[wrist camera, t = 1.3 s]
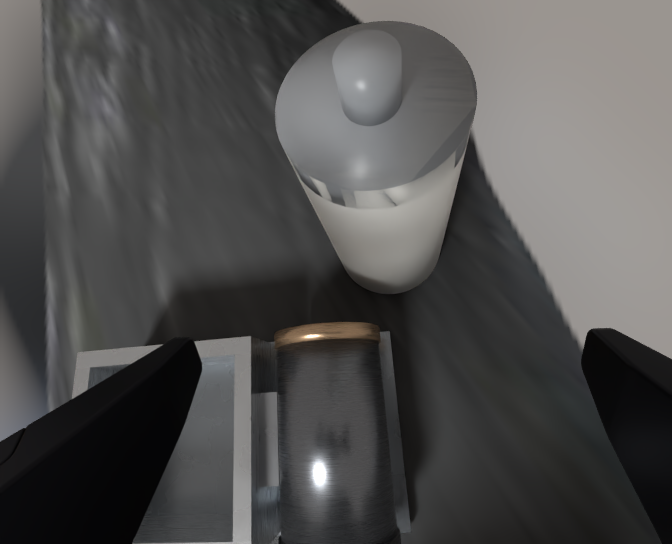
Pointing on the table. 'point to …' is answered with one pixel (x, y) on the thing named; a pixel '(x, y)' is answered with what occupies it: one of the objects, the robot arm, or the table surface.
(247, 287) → the table surface
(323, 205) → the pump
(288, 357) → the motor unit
